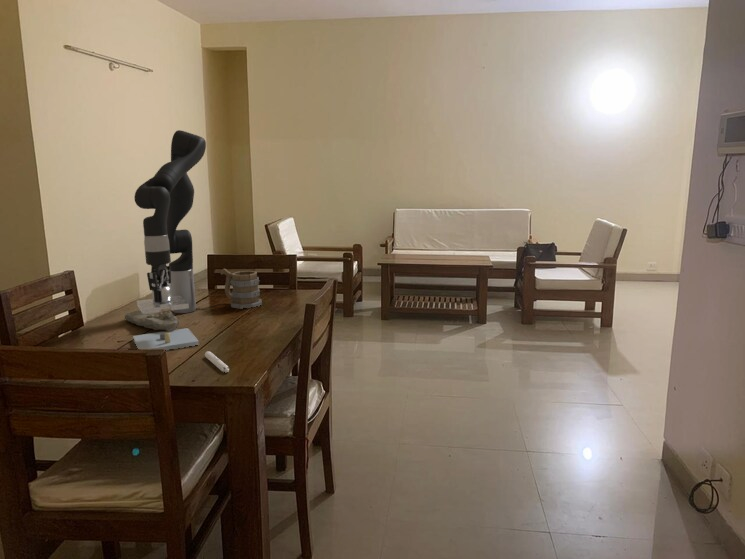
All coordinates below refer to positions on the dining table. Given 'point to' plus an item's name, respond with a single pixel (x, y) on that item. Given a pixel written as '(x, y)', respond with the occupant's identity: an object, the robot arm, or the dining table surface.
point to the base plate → (159, 344)
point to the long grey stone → (153, 320)
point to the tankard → (242, 288)
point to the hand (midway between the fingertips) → (162, 299)
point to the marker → (217, 362)
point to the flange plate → (158, 307)
